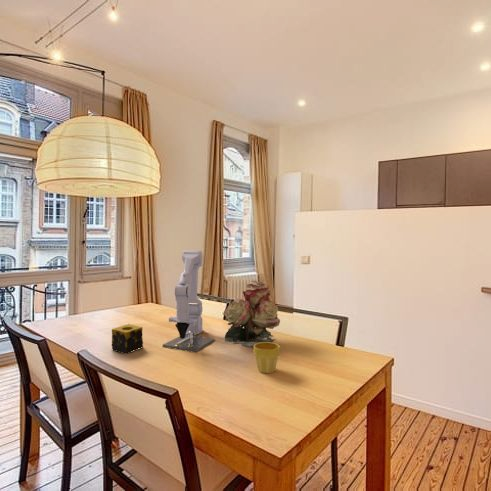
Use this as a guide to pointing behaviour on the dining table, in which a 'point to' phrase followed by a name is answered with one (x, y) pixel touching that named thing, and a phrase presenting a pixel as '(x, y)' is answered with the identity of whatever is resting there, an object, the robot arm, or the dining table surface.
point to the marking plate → (186, 345)
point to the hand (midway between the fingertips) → (182, 338)
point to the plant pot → (266, 356)
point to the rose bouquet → (251, 316)
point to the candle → (127, 338)
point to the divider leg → (191, 336)
